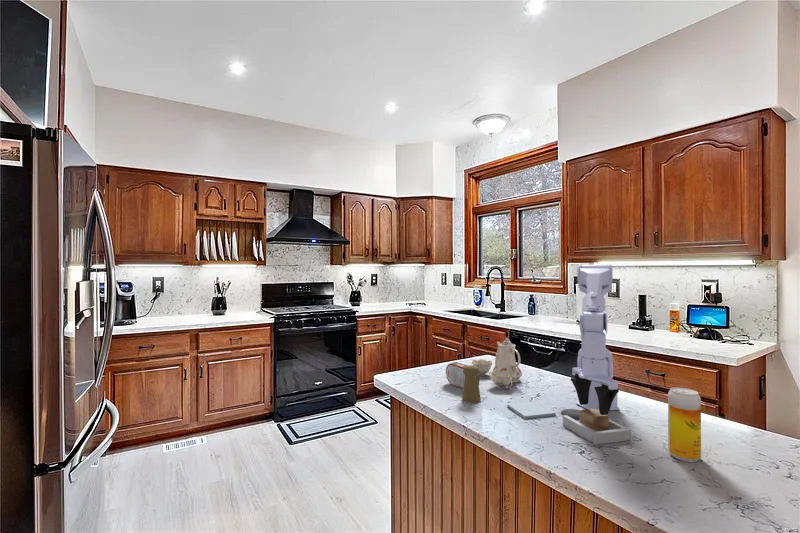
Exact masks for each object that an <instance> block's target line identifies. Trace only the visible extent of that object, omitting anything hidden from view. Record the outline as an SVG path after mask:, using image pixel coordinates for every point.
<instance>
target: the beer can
mask: <svg viewBox="0 0 800 533" xmlns="http://www.w3.org/2000/svg"><path fill="white" fill-rule="evenodd" d="M701 404H702V398H701V396H700V395H699V392H698V391H696V390H694V389H691V388H685V387H676V386H675V387H670V389H669V390H668V393H667V420H668V421H667V423H668V424H667V427H668V428H667V435H668V437H667V441H668V444H667V448H668V449H667V451H668V452H669V453H670V455H671V457H673V458H675V459H677V460H680V461H684V462H687V463H689V462H690V463H695V462H698V461H699V459H701V458H702V405H701Z"/></svg>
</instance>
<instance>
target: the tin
mask: <svg viewBox="0 0 800 533" xmlns="http://www.w3.org/2000/svg"><path fill="white" fill-rule="evenodd" d="M465 366H469V365H467V364H464V363H461V362H457V361H454V362H452V363H448V364H447V366H446V367H445V374H446V379H447V381H448V383H449V384H450V385H452V386H453V387H456V388H459V389H462V390H463V388H464V380H465V375H464V373H463V369H464V367H465ZM479 376H480V375H478V383H479V384H480V377H479Z"/></svg>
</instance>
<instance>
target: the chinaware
mask: <svg viewBox="0 0 800 533" xmlns="http://www.w3.org/2000/svg"><path fill="white" fill-rule="evenodd" d="M496 344H497V348H496V349H497V350H496V354H495V360H494V367H493V368H492V365H493V360H486V359H483V358H480V359H478V360H476V359H472V360H471V364H472V366H476V367H478V369H479V375H478V376H484V375H485V376H486V375H487V373H489V375H490V376H491V379H492V382H493V384H494V385H496V387H497V389H501V390H504V389H508V388H509V389H510V388H512V386H513V383H514V382H515V383H518V382H520V380H519V379H520V378H521V377H522V375H523V372H522V370H521V368H520V364H521V355H520V353H519V351H518V350H517V349H516V344H515V343H512V341H510V339H509V338H508V337H506V338H505V339H504V341H502V343H501V342H500V341H496ZM515 354H516V356H517V360H516V356H515ZM491 368H492V371H490V370H491Z"/></svg>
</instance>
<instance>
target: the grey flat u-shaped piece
mask: <svg viewBox="0 0 800 533" xmlns="http://www.w3.org/2000/svg"><path fill="white" fill-rule="evenodd" d="M562 426H564V427H566V428H567V429H569V430H571V431H573V432H574V433H575V434H577V435H579V436H580V437H582V438H584V439H586V440H587V441H589V442H591V443H592V444H594V445H601V444H608V443H615V442H623V441H624V442H625V441H630V440H631V439H632V437H631V435H632V434H631V429H630V428H628V427H626V426H624V425H622V424H619V423H618V422H616V421H614V420H612V419H610V418H609V430H605V431H597V432H596V431H594V430H592V429H590V428H588V427H587V426H585V425H583V424H581V423H580V422H579V420H574V419H572V418H571V417H569V416H567V415H564V416H563V415H562Z"/></svg>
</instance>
